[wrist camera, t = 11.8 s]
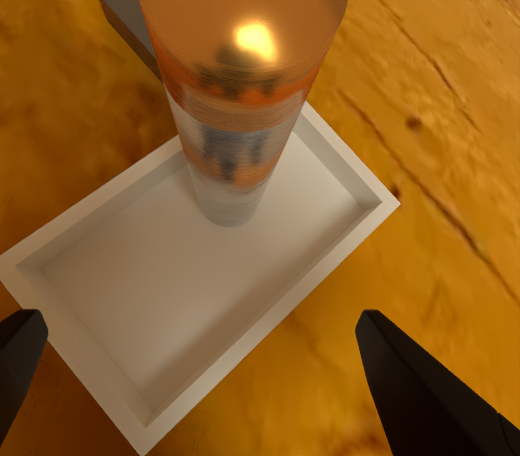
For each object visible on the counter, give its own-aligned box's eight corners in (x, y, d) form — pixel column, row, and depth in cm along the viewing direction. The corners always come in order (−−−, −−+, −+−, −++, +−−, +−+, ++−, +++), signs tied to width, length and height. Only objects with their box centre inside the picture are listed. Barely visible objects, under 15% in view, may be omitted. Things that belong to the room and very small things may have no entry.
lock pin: (270, 201, 18) (388, -2, 5) (225, 239, 17) (232, 108, 4) (232, 158, 18) (255, -139, 5) (185, 193, 17) (82, -58, 5)
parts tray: (373, 216, 20) (400, 203, 17) (155, 426, 15) (141, 458, 13) (267, 99, 21) (275, 68, 18) (28, 268, 16) (-14, 264, 13)
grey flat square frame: (307, 55, 22) (316, 32, 20) (202, 127, 19) (200, 109, 17) (220, -39, 22) (221, -70, 20) (107, 20, 20) (95, -9, 18)
